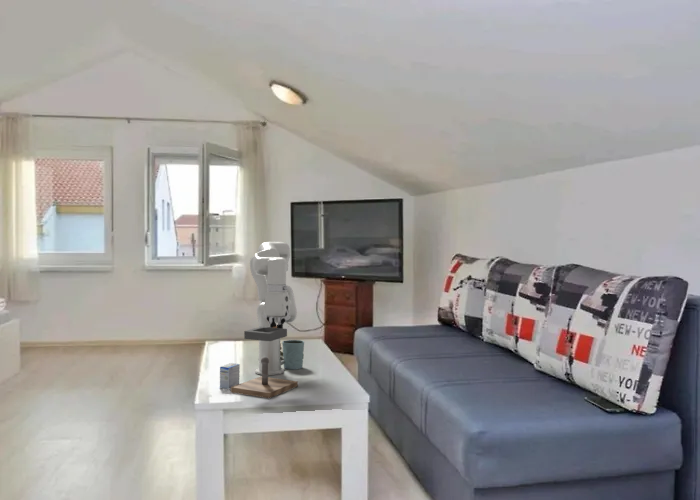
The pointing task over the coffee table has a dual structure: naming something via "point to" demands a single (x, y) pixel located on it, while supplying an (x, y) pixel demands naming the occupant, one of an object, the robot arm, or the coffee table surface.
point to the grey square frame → (265, 333)
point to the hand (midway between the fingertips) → (276, 333)
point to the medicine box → (229, 375)
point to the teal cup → (293, 354)
